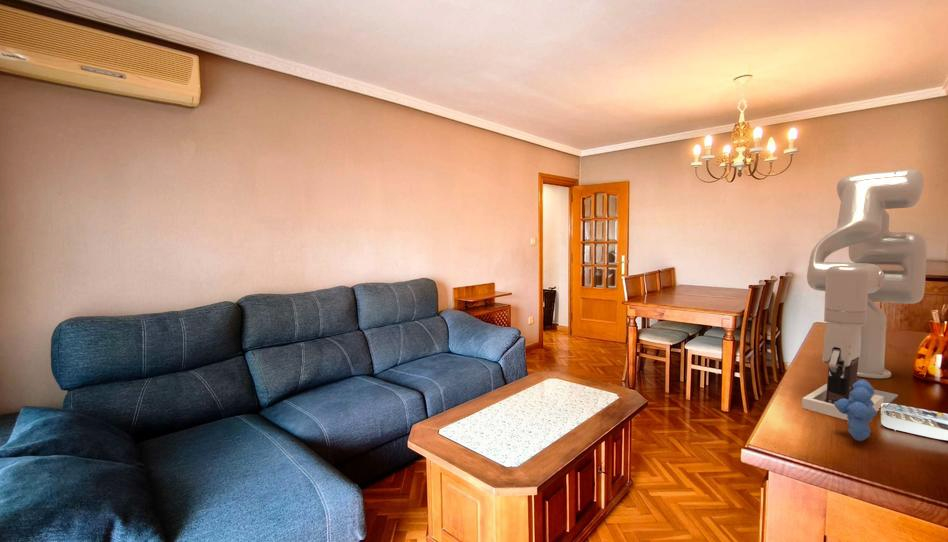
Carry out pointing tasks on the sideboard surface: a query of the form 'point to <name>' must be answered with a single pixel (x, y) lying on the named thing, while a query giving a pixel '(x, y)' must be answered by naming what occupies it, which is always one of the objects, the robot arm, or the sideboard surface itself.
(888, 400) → the mat
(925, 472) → the sideboard surface
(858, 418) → the grapes
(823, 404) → the white rectangular frame
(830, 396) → the box
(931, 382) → the sideboard surface
